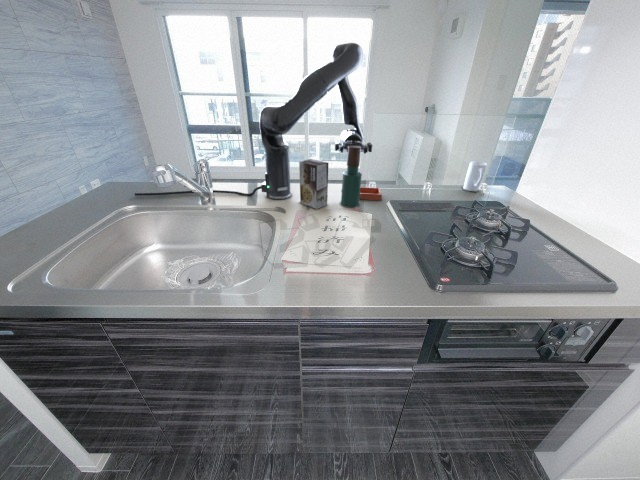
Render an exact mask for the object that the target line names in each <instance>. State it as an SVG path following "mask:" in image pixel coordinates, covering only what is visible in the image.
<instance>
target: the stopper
mask: <svg viewBox="0 0 640 480" xmlns="http://www.w3.org/2000/svg"><path fill="white" fill-rule="evenodd" d="M346 153H347V155H346V167H347V166H350V167H358V166H359V167H360V164H361V155H362V152H361V147H360V146H354V145H353V146H348V152H346ZM359 167H358V168H359Z"/></svg>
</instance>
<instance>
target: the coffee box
mask: <svg viewBox="0 0 640 480" xmlns="http://www.w3.org/2000/svg"><path fill="white" fill-rule="evenodd" d="M298 163H299V166H298V167H299V169H298V171H299V199H300V200H299V201H300V202H299V203H300V204H302V205H305V206H308V207H310V208H313V209H316V210H318V209H320V208H323V207H326V206H328V194H329V193H328V191H329V190H328V188H329V187H328V186H329V162H328V161H323V160H318V159H313V158H309V159H303V160H301V161H299V162H298Z"/></svg>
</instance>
